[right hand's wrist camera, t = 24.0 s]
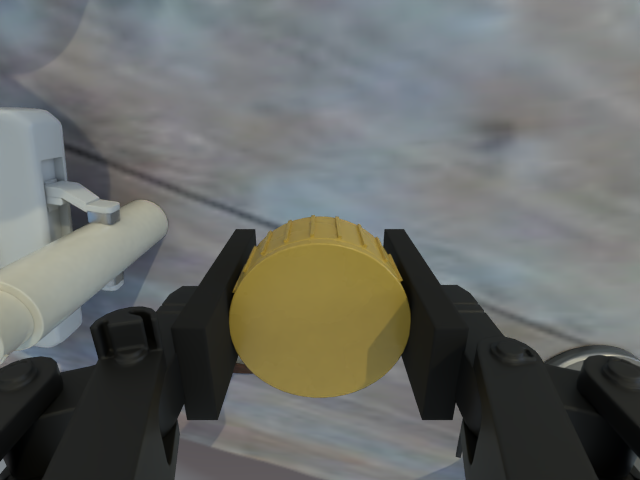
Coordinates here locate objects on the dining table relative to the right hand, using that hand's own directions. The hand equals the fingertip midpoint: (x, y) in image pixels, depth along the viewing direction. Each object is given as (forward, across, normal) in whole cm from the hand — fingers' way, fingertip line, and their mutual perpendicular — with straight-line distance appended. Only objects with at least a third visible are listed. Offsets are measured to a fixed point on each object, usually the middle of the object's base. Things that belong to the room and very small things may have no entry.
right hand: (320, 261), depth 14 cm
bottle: (+21, +18, +5) cm, 28 cm away
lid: (-4, 0, 0) cm, 4 cm away
